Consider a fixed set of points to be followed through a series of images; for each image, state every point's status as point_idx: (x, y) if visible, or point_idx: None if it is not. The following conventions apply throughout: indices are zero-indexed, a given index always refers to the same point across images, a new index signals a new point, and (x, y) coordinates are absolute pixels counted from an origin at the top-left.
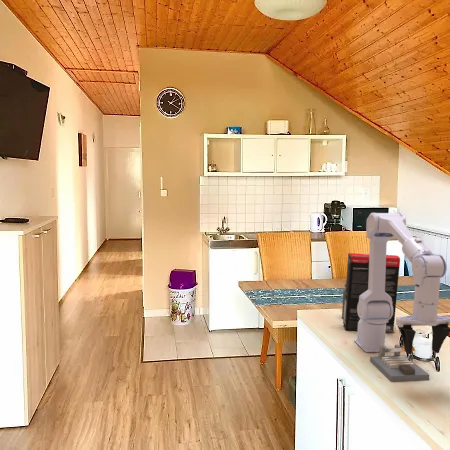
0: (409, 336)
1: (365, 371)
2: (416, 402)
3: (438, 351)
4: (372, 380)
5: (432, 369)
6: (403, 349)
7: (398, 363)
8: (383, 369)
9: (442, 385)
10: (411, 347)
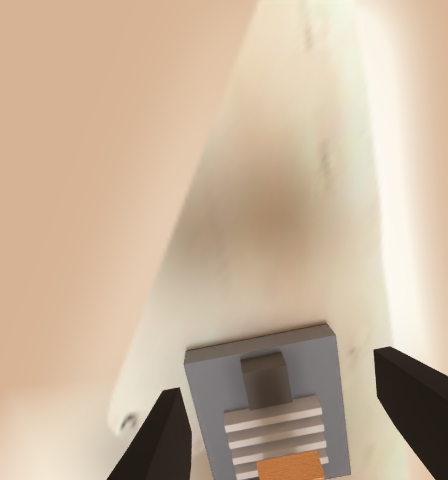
0: None
1: None
2: (296, 180)
3: (165, 397)
4: (388, 324)
5: None
6: (320, 463)
7: (284, 421)
8: (340, 387)
9: (151, 317)
10: (426, 377)
